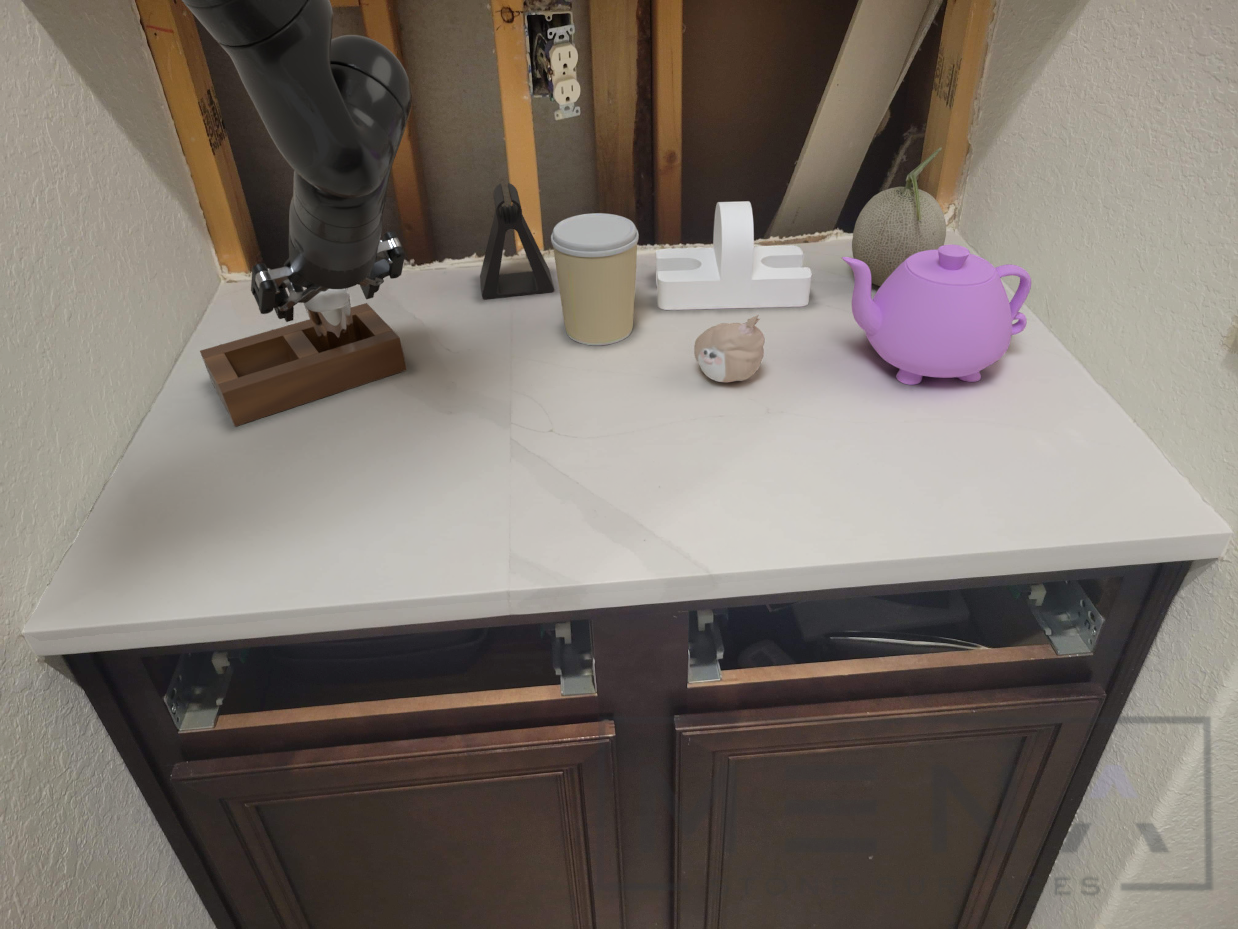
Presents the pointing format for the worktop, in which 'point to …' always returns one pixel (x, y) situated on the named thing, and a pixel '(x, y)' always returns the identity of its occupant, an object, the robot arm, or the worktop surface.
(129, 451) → the worktop surface
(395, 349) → the tray
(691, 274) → the white slotted holder
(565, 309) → the coffee cup
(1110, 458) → the worktop surface
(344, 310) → the milkshake
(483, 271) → the phone stand
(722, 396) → the worktop surface
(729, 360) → the beige round figure
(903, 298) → the teapot
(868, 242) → the fruit
